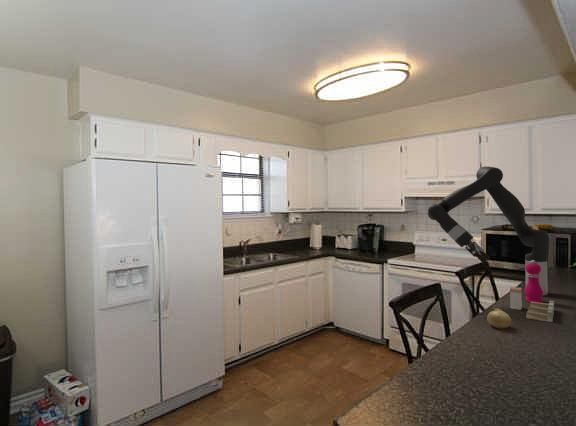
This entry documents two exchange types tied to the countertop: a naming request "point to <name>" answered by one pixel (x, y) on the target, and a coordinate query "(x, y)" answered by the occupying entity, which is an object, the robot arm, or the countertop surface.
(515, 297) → the plug
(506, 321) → the onion
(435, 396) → the countertop surface
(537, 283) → the pepper mill
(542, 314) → the comb rack
